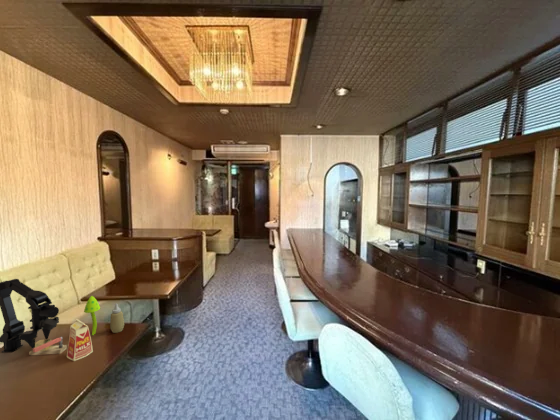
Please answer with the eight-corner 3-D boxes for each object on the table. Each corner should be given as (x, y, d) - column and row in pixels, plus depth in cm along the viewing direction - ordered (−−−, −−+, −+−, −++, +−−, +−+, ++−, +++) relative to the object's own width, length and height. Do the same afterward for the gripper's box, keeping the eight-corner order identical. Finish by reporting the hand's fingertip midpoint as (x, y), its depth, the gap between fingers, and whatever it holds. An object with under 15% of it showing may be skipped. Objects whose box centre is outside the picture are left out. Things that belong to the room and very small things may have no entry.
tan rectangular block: (33, 351, 145) (33, 344, 145) (40, 346, 149) (39, 339, 149) (45, 350, 146) (44, 343, 145) (51, 346, 150) (51, 339, 150)
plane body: (28, 355, 145) (28, 344, 144) (36, 350, 150) (35, 339, 149) (60, 353, 146) (59, 342, 146) (67, 348, 151) (66, 337, 151)
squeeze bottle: (127, 328, 174) (126, 301, 173) (118, 334, 166) (117, 306, 165) (116, 327, 175) (115, 301, 174) (107, 333, 167) (105, 306, 166)
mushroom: (81, 337, 162) (79, 298, 161) (92, 330, 170) (90, 293, 169) (95, 338, 162) (93, 298, 160) (104, 331, 170) (102, 293, 169)
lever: (35, 352, 137) (35, 349, 137) (33, 351, 137) (32, 348, 137) (63, 339, 149) (63, 337, 149) (61, 339, 149) (61, 336, 149)
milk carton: (66, 357, 143) (64, 321, 142) (85, 348, 151) (83, 314, 150) (75, 362, 139) (73, 325, 137) (94, 352, 147) (92, 317, 146)
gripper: (40, 323, 138) (42, 352, 139) (66, 308, 156) (67, 333, 157) (17, 324, 137) (19, 353, 138) (46, 309, 155) (47, 334, 156)
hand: (40, 343), depth 147 cm, fingers open, 9 cm apart
